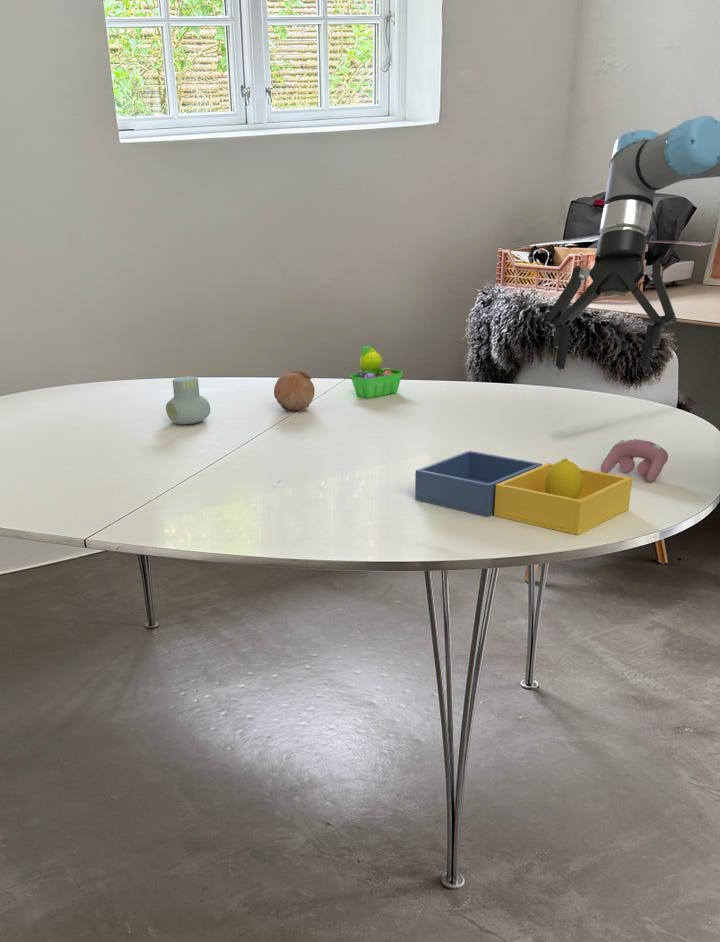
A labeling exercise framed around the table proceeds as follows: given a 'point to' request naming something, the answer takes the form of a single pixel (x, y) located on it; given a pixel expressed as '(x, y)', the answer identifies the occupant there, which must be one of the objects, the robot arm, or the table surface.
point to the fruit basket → (374, 376)
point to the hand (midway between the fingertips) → (601, 368)
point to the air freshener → (187, 402)
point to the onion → (294, 391)
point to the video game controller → (640, 449)
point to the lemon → (564, 479)
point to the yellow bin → (562, 500)
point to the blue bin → (467, 481)
